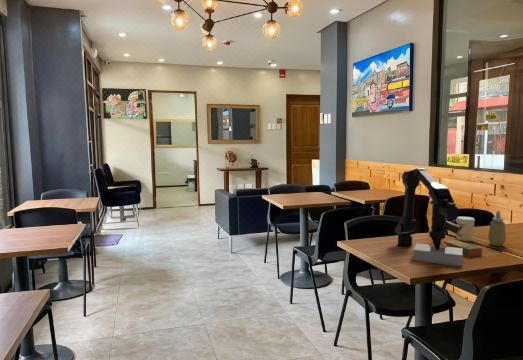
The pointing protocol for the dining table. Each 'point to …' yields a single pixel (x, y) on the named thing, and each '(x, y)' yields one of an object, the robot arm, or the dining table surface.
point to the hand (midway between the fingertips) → (437, 249)
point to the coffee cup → (465, 228)
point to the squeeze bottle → (497, 231)
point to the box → (437, 258)
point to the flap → (442, 249)
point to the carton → (465, 248)
